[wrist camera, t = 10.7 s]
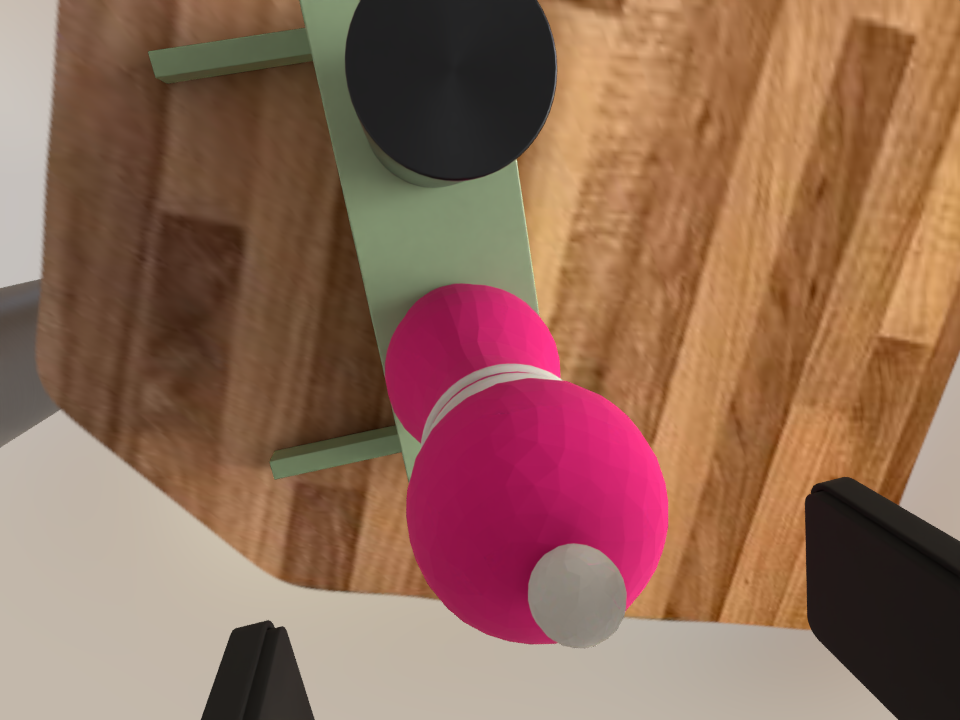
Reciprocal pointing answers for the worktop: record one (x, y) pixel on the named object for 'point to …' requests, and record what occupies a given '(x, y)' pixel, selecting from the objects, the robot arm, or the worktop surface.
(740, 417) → the worktop surface
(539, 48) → the spice tin
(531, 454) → the pepper mill
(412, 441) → the riser
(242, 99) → the worktop surface
